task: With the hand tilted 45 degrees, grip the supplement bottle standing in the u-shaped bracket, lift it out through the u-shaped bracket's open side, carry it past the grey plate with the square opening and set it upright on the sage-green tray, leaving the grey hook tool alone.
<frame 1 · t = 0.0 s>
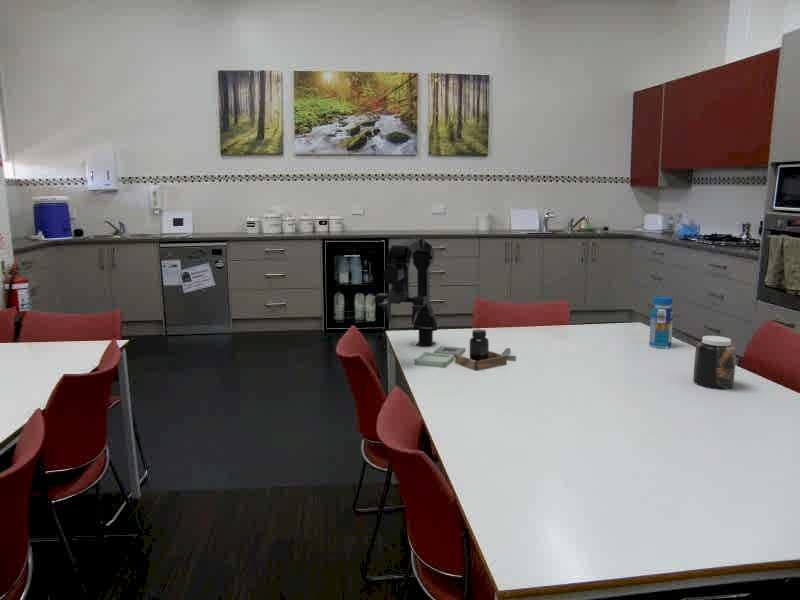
hand: (401, 322, 233), 15 cm above the table, tool pointing down, fingers open, 9 cm apart
hole plate: (449, 353, 248), on the table
tray: (434, 361, 236), on the table
jar: (712, 384, 208), on the table
beverage bottle: (659, 346, 257), on the table
crook tool: (505, 356, 244), on the table
supplement bottle: (478, 363, 234), on the table
u-shaped bracket: (478, 363, 234), on the table
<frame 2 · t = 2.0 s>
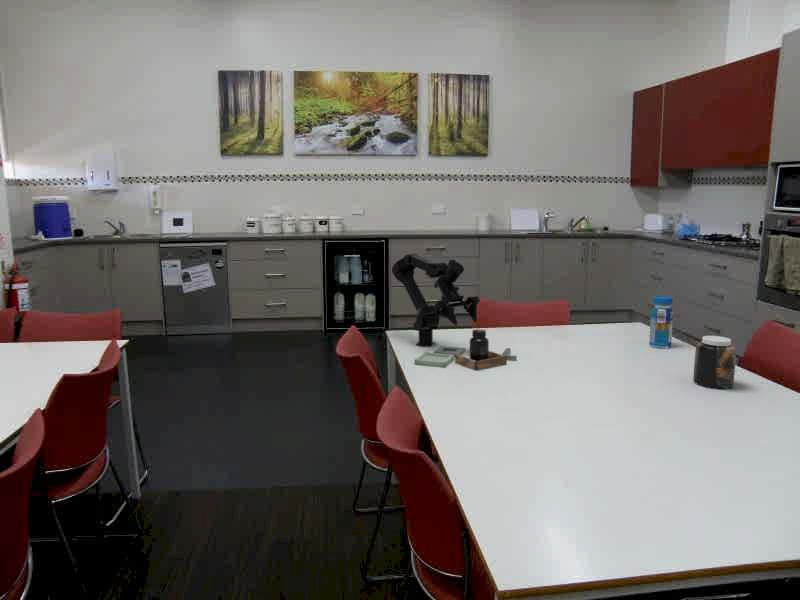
hand: (466, 323, 238), 13 cm above the table, tool tilted 45°, fingers open, 9 cm apart
nothing on the table moved.
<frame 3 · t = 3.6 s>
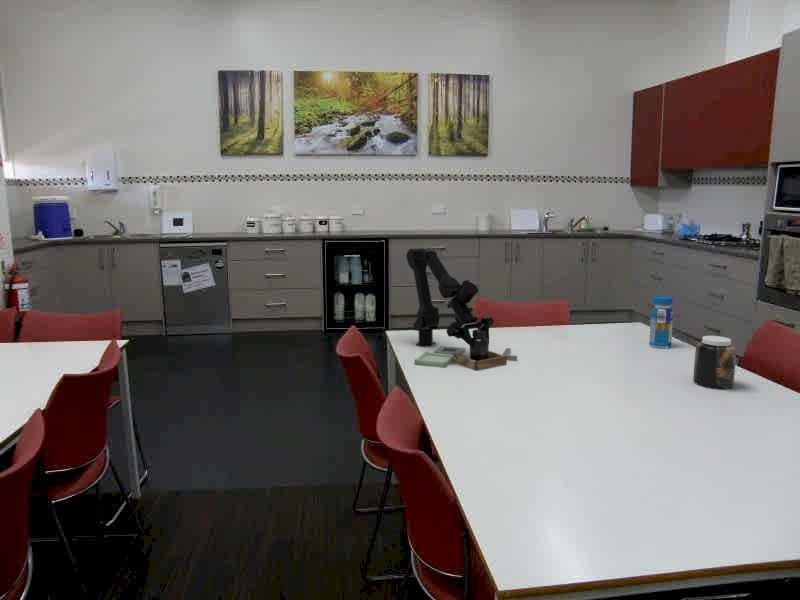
hand: (480, 345, 232), 7 cm above the table, tool tilted 45°, fingers closed on supplement bottle, 7 cm apart
supplement bottle: (478, 363, 234), on the table, touching gripper
everything else where it was.
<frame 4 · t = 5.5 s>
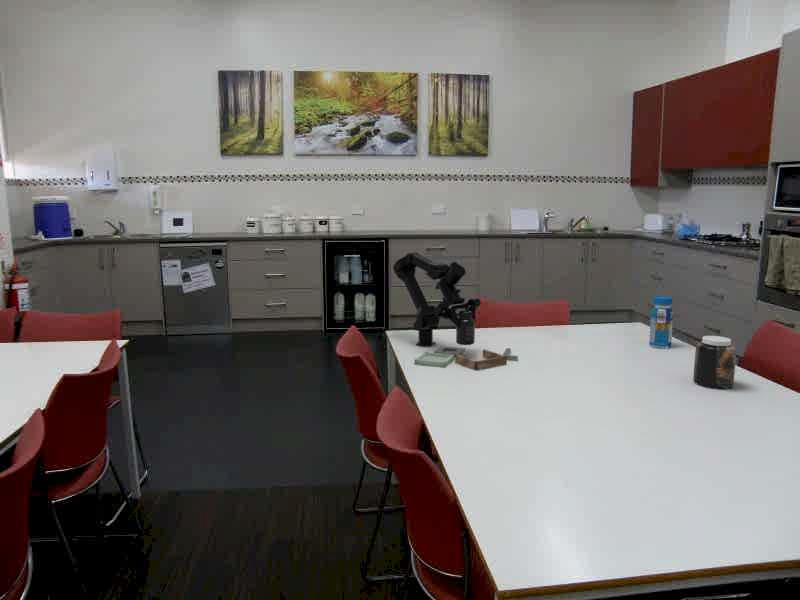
hand: (467, 326, 238), 12 cm above the table, tool tilted 45°, fingers closed on supplement bottle, 7 cm apart
supplement bottle: (465, 343, 240), point 6 cm above the table, touching gripper
everything else where it was.
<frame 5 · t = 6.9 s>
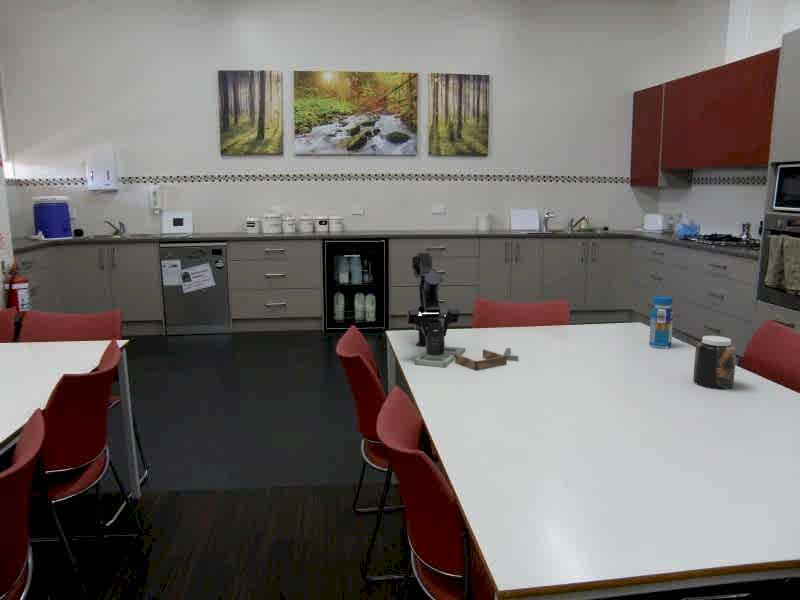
hand: (435, 335, 233), 10 cm above the table, tool tilted 45°, fingers closed on supplement bottle, 7 cm apart
supplement bottle: (435, 353, 235), point 3 cm above the table, touching gripper
everything else where it was.
when the fingers open (8 cm above the table, at t = 7.7 s): supplement bottle stays where it is, resting on tray.
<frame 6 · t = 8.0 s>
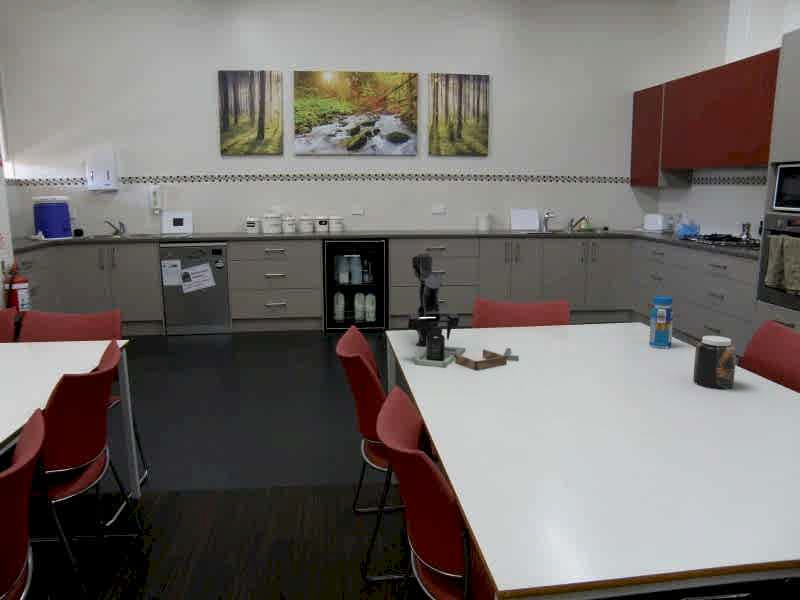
hand: (435, 340, 233), 9 cm above the table, tool tilted 45°, fingers open, 9 cm apart
supplement bottle: (435, 360, 235), point 1 cm above the table, touching tray
everything else where it was.
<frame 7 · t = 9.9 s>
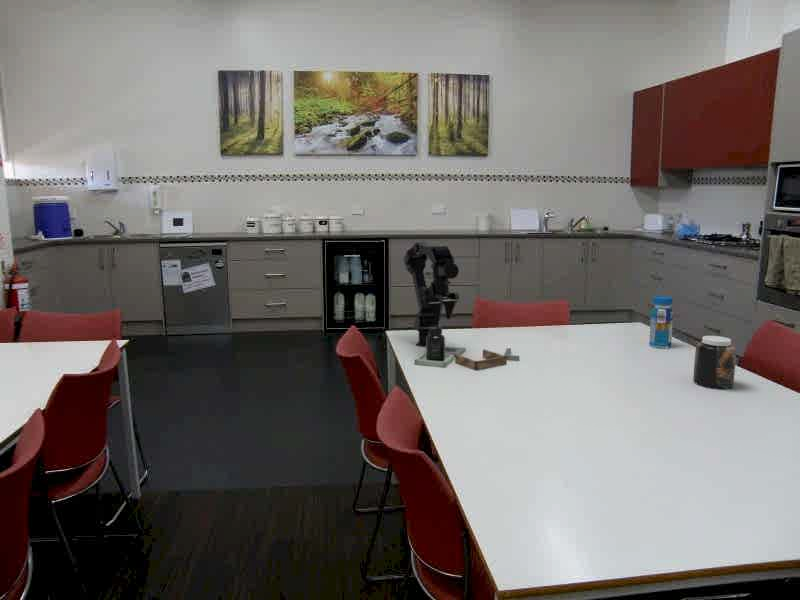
hand: (443, 320, 244), 13 cm above the table, tool pointing down, fingers open, 9 cm apart
nothing on the table moved.
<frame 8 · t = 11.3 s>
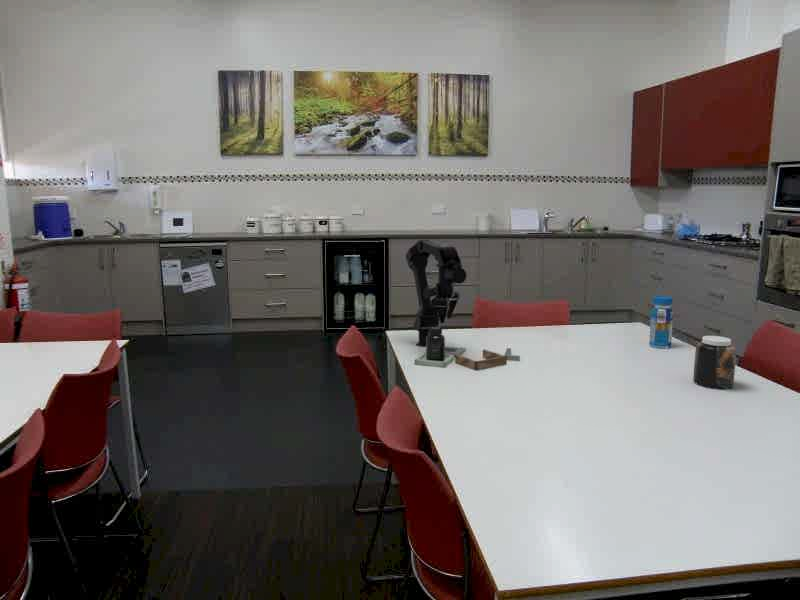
hand: (445, 320, 244), 13 cm above the table, tool pointing down, fingers open, 9 cm apart
nothing on the table moved.
at the end: supplement bottle inside the target area on the tray (0.4 cm from its centre), point 0.6 cm above the tray's base; supplement bottle tilted 0°; the gripper is holding nothing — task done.
